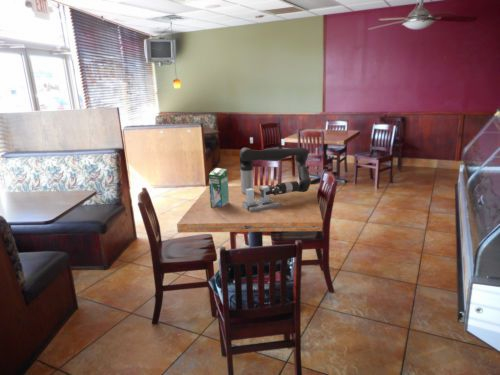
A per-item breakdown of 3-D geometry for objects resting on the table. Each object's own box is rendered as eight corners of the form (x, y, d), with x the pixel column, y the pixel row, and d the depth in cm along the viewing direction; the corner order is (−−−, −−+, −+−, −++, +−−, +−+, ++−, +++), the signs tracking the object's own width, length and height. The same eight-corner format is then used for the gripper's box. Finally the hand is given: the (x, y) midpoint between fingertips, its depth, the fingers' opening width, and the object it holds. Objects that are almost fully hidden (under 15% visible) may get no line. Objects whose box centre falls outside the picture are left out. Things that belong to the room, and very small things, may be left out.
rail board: (240, 207, 236) (240, 201, 235) (270, 202, 245) (270, 195, 244) (251, 215, 222) (251, 208, 221) (282, 209, 231) (282, 202, 230)
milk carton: (210, 207, 238) (208, 170, 231) (217, 203, 246) (215, 167, 239) (222, 209, 234) (220, 171, 227) (229, 204, 242) (227, 168, 235)
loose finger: (260, 204, 237) (260, 186, 234) (266, 202, 239) (266, 185, 236) (263, 205, 234) (263, 188, 230) (269, 204, 236) (269, 187, 232)
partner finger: (246, 206, 233) (245, 189, 230) (252, 205, 235) (252, 187, 232) (248, 208, 230) (248, 190, 226) (255, 207, 231) (254, 189, 228)
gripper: (278, 180, 245) (257, 183, 239) (289, 185, 233) (267, 188, 226) (278, 190, 247) (257, 194, 241) (289, 196, 235) (268, 200, 228)
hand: (262, 191), depth 233 cm, fingers open, 8 cm apart
